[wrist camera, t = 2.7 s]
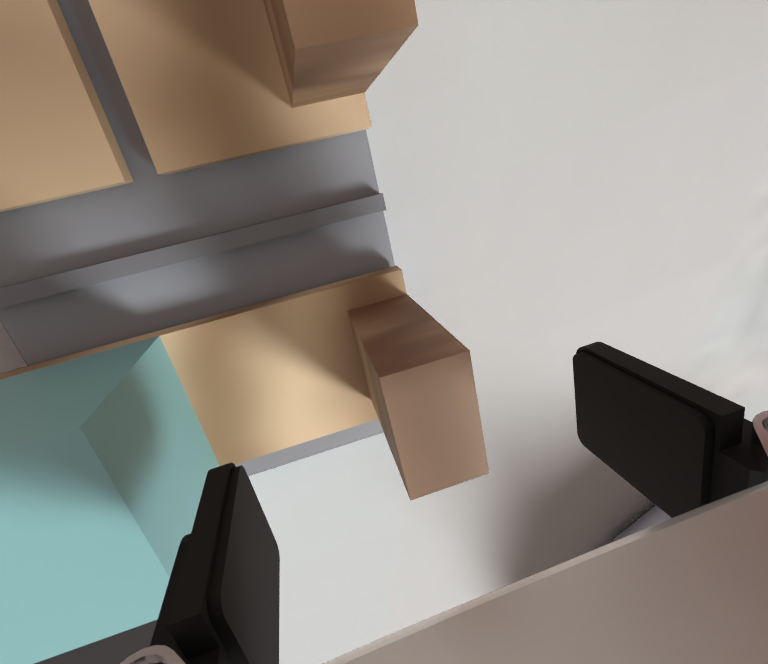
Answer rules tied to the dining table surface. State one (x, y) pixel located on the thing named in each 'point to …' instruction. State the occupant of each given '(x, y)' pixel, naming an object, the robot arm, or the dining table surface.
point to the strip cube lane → (330, 377)
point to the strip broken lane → (248, 71)
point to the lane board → (155, 210)
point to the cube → (93, 496)
